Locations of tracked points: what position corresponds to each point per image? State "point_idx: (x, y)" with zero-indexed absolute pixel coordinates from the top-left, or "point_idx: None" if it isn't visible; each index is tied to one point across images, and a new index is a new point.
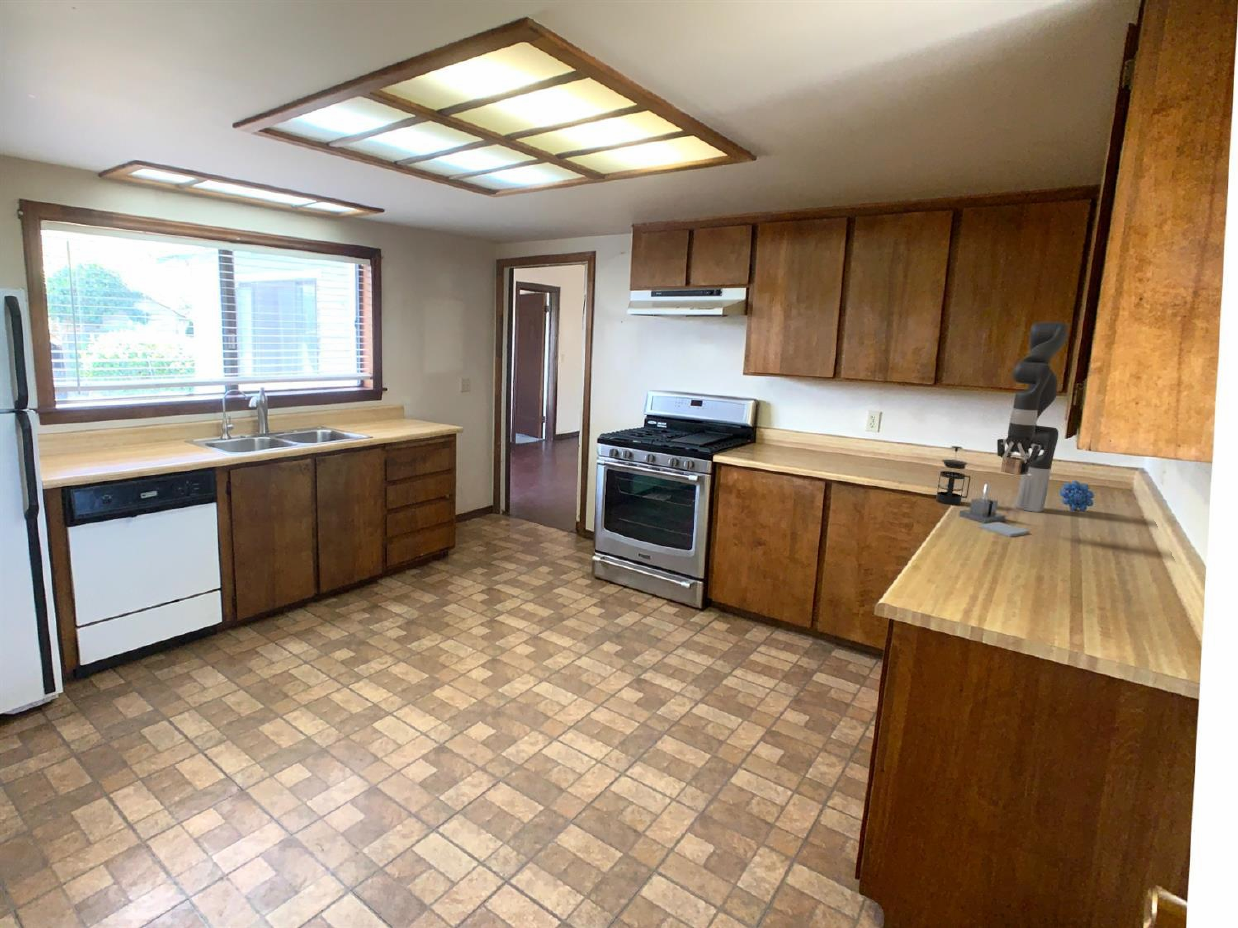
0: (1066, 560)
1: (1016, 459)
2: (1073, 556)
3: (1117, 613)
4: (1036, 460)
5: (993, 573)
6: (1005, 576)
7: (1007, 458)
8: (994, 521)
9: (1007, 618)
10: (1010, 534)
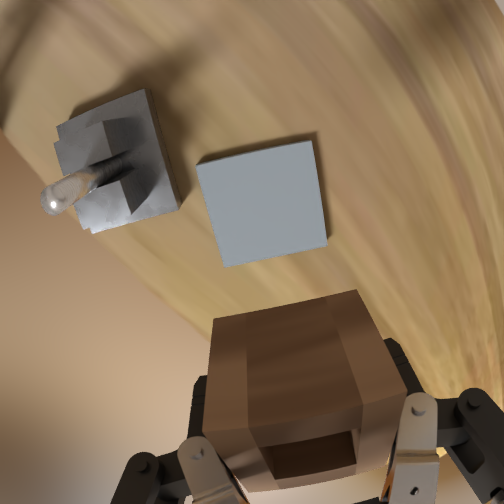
0: (473, 256)
1: (344, 469)
2: (470, 214)
3: None
4: (488, 396)
5: None
6: (442, 396)
7: (283, 487)
8: (165, 149)
9: None
10: (326, 244)
